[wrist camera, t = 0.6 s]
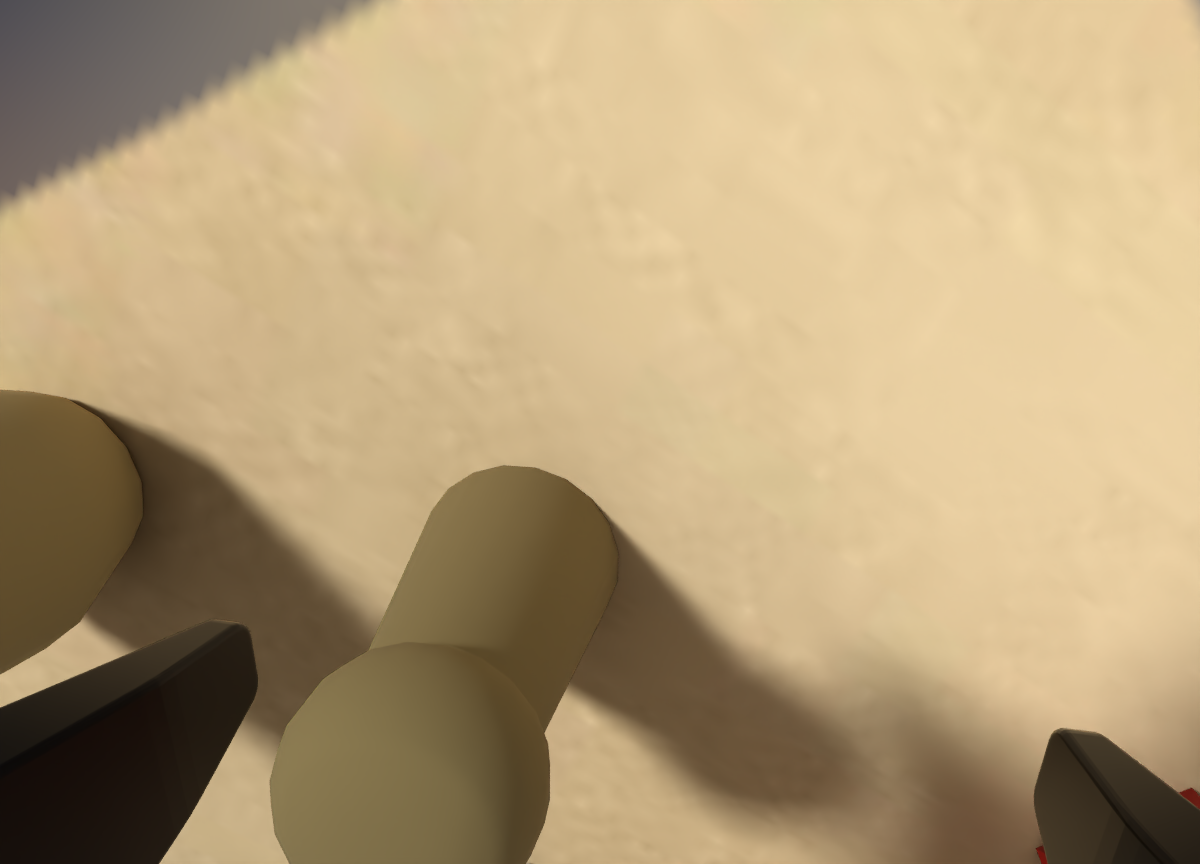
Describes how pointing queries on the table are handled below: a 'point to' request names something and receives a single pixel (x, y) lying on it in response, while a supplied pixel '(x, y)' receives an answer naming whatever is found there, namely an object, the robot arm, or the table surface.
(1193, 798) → the french fries
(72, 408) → the squeeze bottle
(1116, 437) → the table surface
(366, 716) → the pepper mill
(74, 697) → the robot arm
